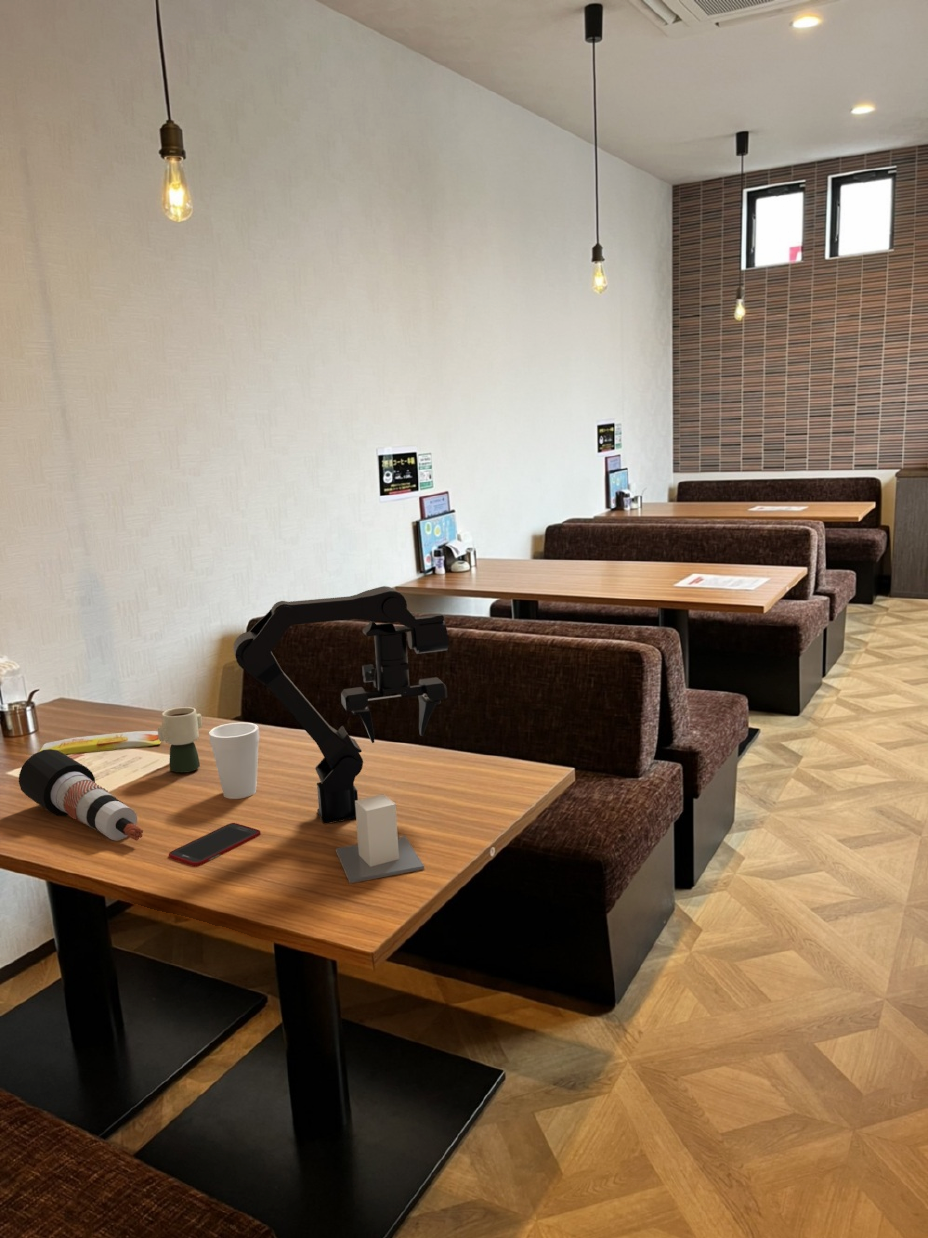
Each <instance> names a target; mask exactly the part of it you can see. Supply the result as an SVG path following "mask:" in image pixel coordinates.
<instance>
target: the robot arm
mask: <svg viewBox="0 0 928 1238" xmlns="http://www.w3.org/2000/svg"><path fill="white" fill-rule="evenodd" d="M407 607H408V604H407V600H406V599H405V596H404V595H403V594H402V593H400V592H399V591H398V590H397V589H395V588H393V587H390V586H386V585H384V586H380V587H375V588H371V589H368V590H364V591H363V592H359V593H357V594H354V595H350V596H340V597H327V598H317V599H305V600H304V599H302V600H294V601H286V600H280V601H277V602H275V603H274V604H273V605H272V607H271V608H270V610H269V611H268V612H267V613H266V614H265V615H264V616H263V617H261V618H260V619H259V620H258V621H257V622H256V623H255V624H254V625H253V626H252V627H251V629H250V630H249V631H246V632H242V634H240V635H238V637H236V638H235V641H234V643H233V647H232V648H233V649H232V650H233V654H234V657H235V660H236V663H237V664H238V666H239V667H240V668H241V669H242V670H244V671H245V672H246V673H247V674H249V675H250V676H251V677H252V678H254V679H255V680H257V681H258V682H260V683H261V684H263V685H265V687H267V688H268V689H269V691H271V693H272V694H273V695H274V697H275V698H277V700H278V701H279V702H280V703H281V704H282V706H284V708H285V709H286V710H287V711H288V712H289V713H290V715H291V716H292V717H293V718H294V720H296V722H298V724H299V725H300V726H301V727H302V729H304V731H305V732H306V733H307V734H308V736H310V738H311V739H312V740H313V741H314V742H315V743H316V745H317V747H318V749H319V751H320V752H321V754H322V756H323V758H322V760H320V761H319V763H318V764H317V765H316V766H315V771H316V774H317V776H318V778H319V780H320V781H319V782H317V783H316V786H317V787H316V788H317V798H318V799H317V801H318V808H317V813H318V816H319V818H320V821H321V823H322V824H332V823H337V822H343V821H344V822H345V821H348V820H355V819H356V807H355V801H356V800H359V798H358V795H359V794H358V790H357V788H356V786H355V785H354V784H355V783H354V782H355V780H356V779H355V778H356V777H357V776H358V775H359V774H360V773H361V771H362V769H363V767H364V766H363V765H364V760H363V757H362V756H361V754H360V753H362V749H361V748H360V746H359V744H358V743H357V740H356V739H354V738H352V737H351V736H350V735H349V734H348V732H347V731H346V729H345V727H344V725H342V726H340V727H339V728H338V730H337V729H335V727H332V726H331V725H330V724H329V723H328V722H327V721H326V720H325V719H324V717H323V716H322V715H321V714H320V713H319V712H318V710H317V709H316V707H314V706H313V705H312V703H311V702H310V701H309V700H308V698H306V697H305V695H304V694H303V693H302V692H301V691H300V689H298V687H297V686H296V684H294V682H293V681H292V680H291V679H290V678H289V676H288V675H287V674H286V673H285V672H284V671H283V670H282V667H281V666H280V663H278V662H279V661H278V660H277V659H276V657H275V655H274V654H273V652H272V651H273V650H274V648H275V647H277V646H278V644H279V642H280V641H281V640H282V638H283V637H284V635H285V633H286V632H287V631H288V629H289V628H290V627H291V626H298V625H305V624H315V623H316V624H317V623H327V622H337V621H348V620H361V621H367V622H369V623H368V624H367V625H366V626H365V627H364V628H363V629H362V633H363V634H364V635H365V636H366V637H374V638H373V639H374V650H375V651H374V652H375V668H374V665H373V664H364V665H362V679H363V683H373V687H374V688H375V689H377V690H372V691H371V690H370V691H365V689H364V688H363V687H362V686H359V687H352V688H351V687H350V688H344V689H343V690H342V691H341V693H340V696H341V697H340V698H341V705H342V706H343V708H344V709H345V712H351V713H352V715H355V716H359V717H360V719H361V721H362V723H363V725H364V727H365V730H366V732H367V735H368V737H369V740H370V741H371V743H372V744H374V743H375V732H374V726H373V720H372V714H371V710H370V709H369V703H373V702H381V701H388V700H389V701H390V700H395V699H402V698H411V697H417V698H418V706H419V708H418V709H419V710H418V730H419V735H420V736H422V737H423V736H424V734H425V730H426V729H427V725H428V723H429V720H430V718H431V715H432V713H433V711H434V710H435V707H436V706H437V705H440V704H441V700H445V699H447V698H448V687H447V685H446V683H444V682H443V681H442V680H441V679H440V678H439V677H436V676H435V677H428V678H420V679H419V680H418V685H410V677H409V676H410V675H409V674H410V673H409V669H410V665H409V663H408V662H409V659H408V647H409V649H410V650H414V652H415V653H416V654H417V655H418V654H426V653H427V654H428V653H436V652H443V651H448V650H449V647H450V645H449V644H450V641H449V640H450V635H449V633H448V628H447V624H445V616H444V615H443V614H442V613H433V614H430V615H424V616H415V615H414V614H413V613H411V612H410V611H409V610H408V608H407ZM395 623H399V624H401V625H399V626H395V625H394V624H395ZM407 644H408V646H407Z"/></svg>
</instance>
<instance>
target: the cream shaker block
mask: <svg viewBox="0 0 928 1238" xmlns="http://www.w3.org/2000/svg"><path fill="white" fill-rule="evenodd" d="M355 807H356V831H357V845H358V849H359V856H360V857H361V858H362V859H363V860H364V861H365V862H366V863H367V864H368V865H369V866H370V867H371V866H375V865H379V864H382V863H386V862H390V861H394V860H397V859H399V851H398V824H397V823H398V822H397V821H398V820H397V807H396V802H394V801H393V800H392V799H390V798H389V797H387V796H386V795H385V794H384V793H382V794H378V795H373V796H369V797H365V798H361V799H358V800H356V801H355Z"/></svg>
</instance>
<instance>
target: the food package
mask: <svg viewBox="0 0 928 1238" xmlns="http://www.w3.org/2000/svg"><path fill="white" fill-rule="evenodd" d="M160 744H162V742H161V741H160V740H159V736H158V730H137V731H126V732H117V733H116V732H115V733H106V734H105V733H104V734H96V735H87V736H86V735H85V736H77V737H70V738H65V739H60V740H54V741H50V742H46V743H44V744H43V745H42V746H41V748H40V749H39V751H38V752H40V751H42V750H47V749H52V750H58V751H60V752H61V753H63V754H65V755H67V756H68V755H74V754H75V755H77V754H84V753H94V752H103V751H112V750H122V749H123V750H124V749H132V748H133V749H134V748H144V747H145V748H146V747H150V746H151V747H152V746H156V745H160Z"/></svg>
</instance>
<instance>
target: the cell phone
mask: <svg viewBox="0 0 928 1238" xmlns="http://www.w3.org/2000/svg"><path fill="white" fill-rule="evenodd" d="M261 833H262V832H261V830H259V829H257V828H254V827H250V826H247V825H243V824H240V823H237V822H231V823H228V824H226V825H224V826H221V827H219V828H217V829H215V830H213V831H210V832H209V833H207V834H204V835H202V836H200V837H198V838H196V839H194V840H192V841H190V842H188V843H186V844H184V845H181V846H178V847H177V848H175V849H172V850H171V851H170V852H169V853H168V858H169V859H171V860H173V861H177V862H179V863H183V864H186V865H188V866H191V867H200V866H203V865H204V864H206V863H208V862H210V861H211V860H213V859H215V858H217V857H219V856H222V855H224V854H226V853H229V852H230V851H232V850H234V849H236V848H238V847H241V846H242V845H243V844H247V842H250V841H252V840H254V839H256V838H257V837H259V836H261Z"/></svg>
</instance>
